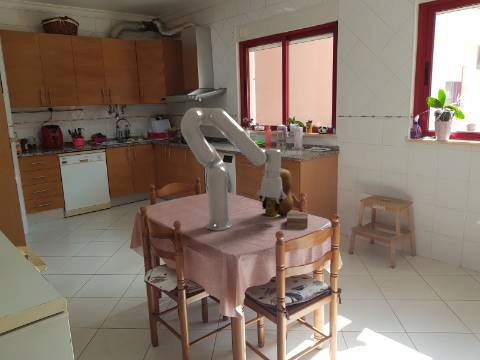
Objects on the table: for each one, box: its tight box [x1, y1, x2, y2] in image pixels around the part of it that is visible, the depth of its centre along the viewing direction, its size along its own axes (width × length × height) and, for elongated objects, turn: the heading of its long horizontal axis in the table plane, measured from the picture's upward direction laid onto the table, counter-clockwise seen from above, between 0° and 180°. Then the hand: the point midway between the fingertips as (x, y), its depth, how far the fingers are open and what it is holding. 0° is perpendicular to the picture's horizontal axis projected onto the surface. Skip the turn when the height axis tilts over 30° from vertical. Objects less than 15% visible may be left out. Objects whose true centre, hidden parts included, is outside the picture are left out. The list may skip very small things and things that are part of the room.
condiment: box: [259, 197, 281, 219], centre depth 188 cm, size 7×8×12 cm
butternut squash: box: [277, 168, 294, 216], centre depth 203 cm, size 14×13×25 cm
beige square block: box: [286, 211, 309, 229], centre depth 188 cm, size 10×10×5 cm
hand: (270, 209), depth 188 cm, fingers closed on condiment, 6 cm apart
